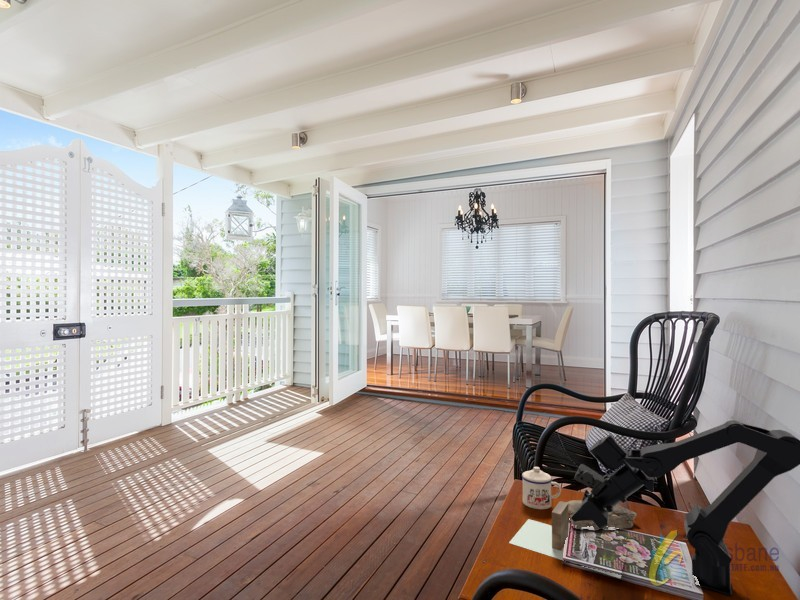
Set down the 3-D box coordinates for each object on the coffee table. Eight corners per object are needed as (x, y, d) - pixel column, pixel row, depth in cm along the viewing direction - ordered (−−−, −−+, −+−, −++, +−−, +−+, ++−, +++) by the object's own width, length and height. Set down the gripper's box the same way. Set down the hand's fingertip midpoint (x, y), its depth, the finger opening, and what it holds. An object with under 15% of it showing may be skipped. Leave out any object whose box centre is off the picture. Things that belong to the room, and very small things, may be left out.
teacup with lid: (525, 510, 130) (525, 472, 130) (519, 498, 139) (519, 462, 139) (565, 512, 129) (565, 473, 129) (556, 499, 138) (556, 463, 138)
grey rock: (624, 513, 129) (557, 509, 131) (624, 497, 129) (558, 493, 131) (648, 538, 115) (573, 533, 117) (648, 520, 115) (573, 516, 117)
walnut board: (568, 537, 113) (568, 503, 113) (560, 550, 106) (560, 514, 107) (560, 534, 114) (559, 500, 114) (552, 548, 108) (551, 512, 108)
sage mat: (629, 549, 108) (629, 547, 108) (620, 581, 95) (620, 578, 95) (528, 521, 123) (528, 519, 123) (508, 545, 110) (508, 542, 110)
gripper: (598, 447, 115) (555, 480, 120) (591, 468, 99) (542, 505, 104) (631, 482, 111) (585, 515, 116) (629, 510, 95) (577, 547, 100)
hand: (572, 519), depth 109 cm, fingers closed
